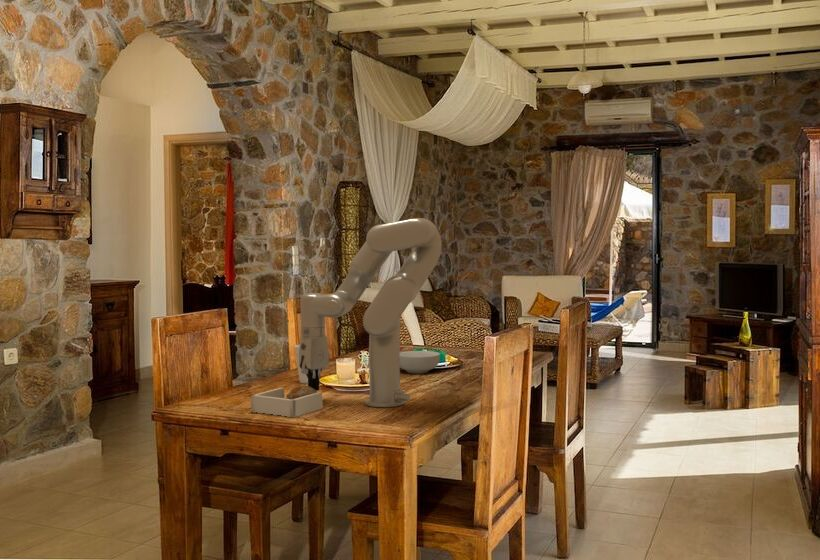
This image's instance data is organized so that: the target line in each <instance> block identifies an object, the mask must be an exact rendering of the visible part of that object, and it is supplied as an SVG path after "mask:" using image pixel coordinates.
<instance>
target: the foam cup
mask: <svg viewBox="0 0 820 560" xmlns="http://www.w3.org/2000/svg"><path fill="white" fill-rule="evenodd" d="M299 347H300V344H296V345H294V353H295V359H296V364H297V365H296V366H297V373H298V379H299V380H298V381H299V383H301V384H308V378H307V376H306V374H302V373H301V368H300V367H299Z"/></svg>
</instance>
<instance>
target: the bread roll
mask: <svg viewBox="0 0 820 560" xmlns="http://www.w3.org/2000/svg"><path fill="white" fill-rule="evenodd" d="M317 392H318V390H317V391H316V390H315V389H314V388H312V387H310V386H308V385H303V384H302V385H299V386H296V387H294V388H292V389H291V390H290V391H289V392H288V393H287V395H286V397H285V399H292V400H293V399H296V398H300V397H303V396H306V395H310V394H313V393H317Z"/></svg>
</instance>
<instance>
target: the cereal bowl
mask: <svg viewBox="0 0 820 560" xmlns="http://www.w3.org/2000/svg"><path fill="white" fill-rule="evenodd" d="M440 356H441V355H440V353H439V352H437V351H430V350H429V351H427V350H410V351H402V352H401V351H400V369H402V370H404V371H406V372H407V373H408V374H409V373H410V374H425V373H426V374H427V373H428V372H429V371H430V370H431V371H432V370H433V369H435V368H436V367H438V365H439V363H440V359H441V357H440Z"/></svg>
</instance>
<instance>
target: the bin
mask: <svg viewBox="0 0 820 560" xmlns="http://www.w3.org/2000/svg"><path fill="white" fill-rule="evenodd" d="M250 402H251V404H250V406H251V407H250V409H251V412H250V413H256V412H257V413H256V414H263V413H265V414H264V415H270V414H273V415H272V416H277V415H281V416H280V417H284V416H287V417H286V418H291V417H292V418H297V417H299V416H303V414H304V415H307V414H309V413H313V412H316V411H319V410H322V409H323V392H322V391H317V393H313V394H310V395H306V396H303V397H300V398H296V399H293V400H292V399H286V398H285V387H279V388H278V387H277V388H275V389H271V390H270V389H269V390H267V391H263V392H259V393H254V394H252V395H251V396H250ZM306 413H307V414H306ZM292 418H291V419H292Z"/></svg>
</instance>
